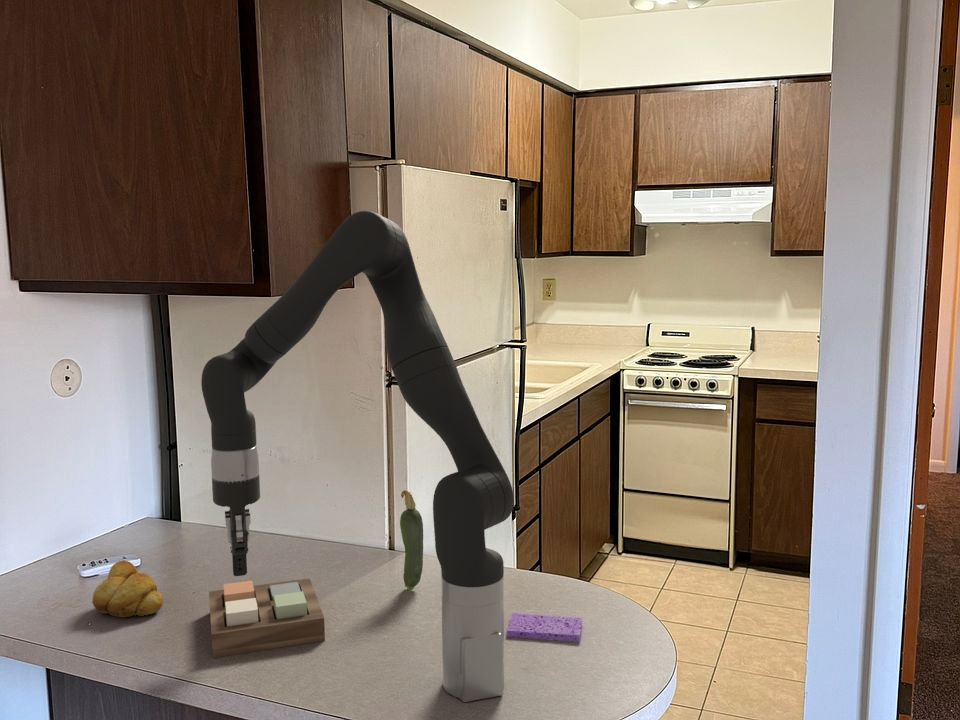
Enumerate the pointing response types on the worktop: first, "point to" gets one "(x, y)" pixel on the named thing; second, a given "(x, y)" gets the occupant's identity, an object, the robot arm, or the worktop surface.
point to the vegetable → (412, 541)
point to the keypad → (265, 624)
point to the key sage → (290, 605)
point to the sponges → (544, 627)
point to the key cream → (241, 612)
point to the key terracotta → (238, 591)
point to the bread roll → (127, 592)
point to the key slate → (283, 589)
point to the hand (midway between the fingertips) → (240, 573)
